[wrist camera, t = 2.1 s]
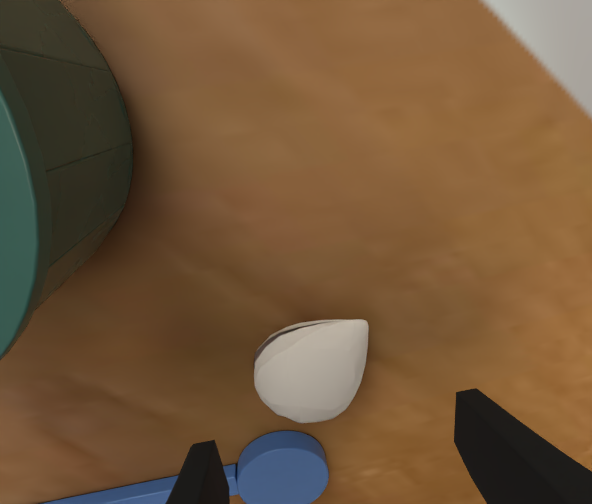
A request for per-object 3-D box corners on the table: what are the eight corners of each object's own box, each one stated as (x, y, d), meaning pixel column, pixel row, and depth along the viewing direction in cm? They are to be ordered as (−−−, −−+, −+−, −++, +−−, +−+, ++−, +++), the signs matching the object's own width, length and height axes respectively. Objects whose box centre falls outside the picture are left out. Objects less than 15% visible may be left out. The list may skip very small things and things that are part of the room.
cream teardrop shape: (233, 354, 15) (230, 400, 13) (321, 271, 14) (335, 304, 12) (306, 405, 16) (315, 455, 14) (390, 333, 15) (415, 373, 13)
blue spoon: (329, 483, 19) (333, 502, 18) (32, 544, 18) (20, 569, 17) (320, 422, 17) (324, 440, 16) (-8, 487, 16) (-23, 510, 15)
